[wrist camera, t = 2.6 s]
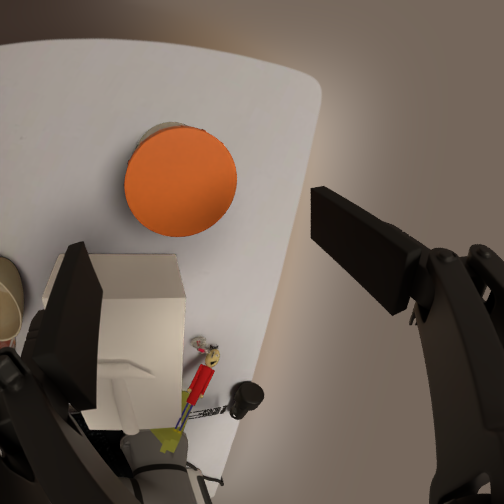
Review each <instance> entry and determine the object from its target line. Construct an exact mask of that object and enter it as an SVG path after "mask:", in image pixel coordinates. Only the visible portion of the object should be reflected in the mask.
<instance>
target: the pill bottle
mask: <svg viewBox="0 0 504 504" xmlns="http://www.w3.org/2000/svg"><path fill="white" fill-rule="evenodd" d="M15 345H16V340H15V337H14V338H13V339H11V340H8V341H0V349H1V348H3V347H12V348H14V349H15Z"/></svg>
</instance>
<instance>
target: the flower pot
mask: <svg viewBox="0 0 504 504" xmlns="http://www.w3.org/2000/svg"><path fill="white" fill-rule="evenodd" d="M23 311H24V295H23V287H22V282H21V278H20V275H19V273H18V270H17V268H16V267H15V265H14V264H13V263H12V262H11V261H9V260H8V259H6V258H3V257H0V341H8V340H11V339H13V338H14V337H15V336H17V335H18V333H19V331H20V329H21V325H22V320H23Z"/></svg>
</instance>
